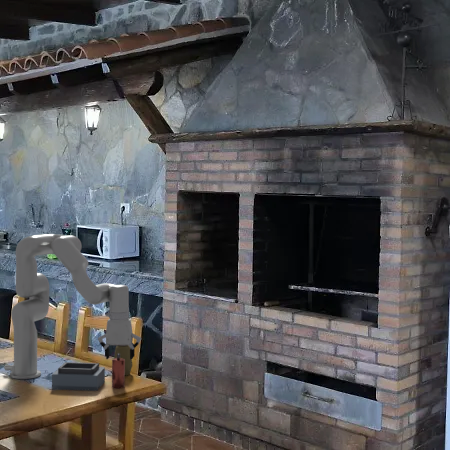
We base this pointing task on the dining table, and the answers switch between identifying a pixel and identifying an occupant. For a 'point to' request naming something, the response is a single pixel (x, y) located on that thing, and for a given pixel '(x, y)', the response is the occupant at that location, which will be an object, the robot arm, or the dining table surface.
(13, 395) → the dining table surface
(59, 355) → the dining table surface
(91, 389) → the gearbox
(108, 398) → the dining table surface
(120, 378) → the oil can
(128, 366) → the squeeze bottle
